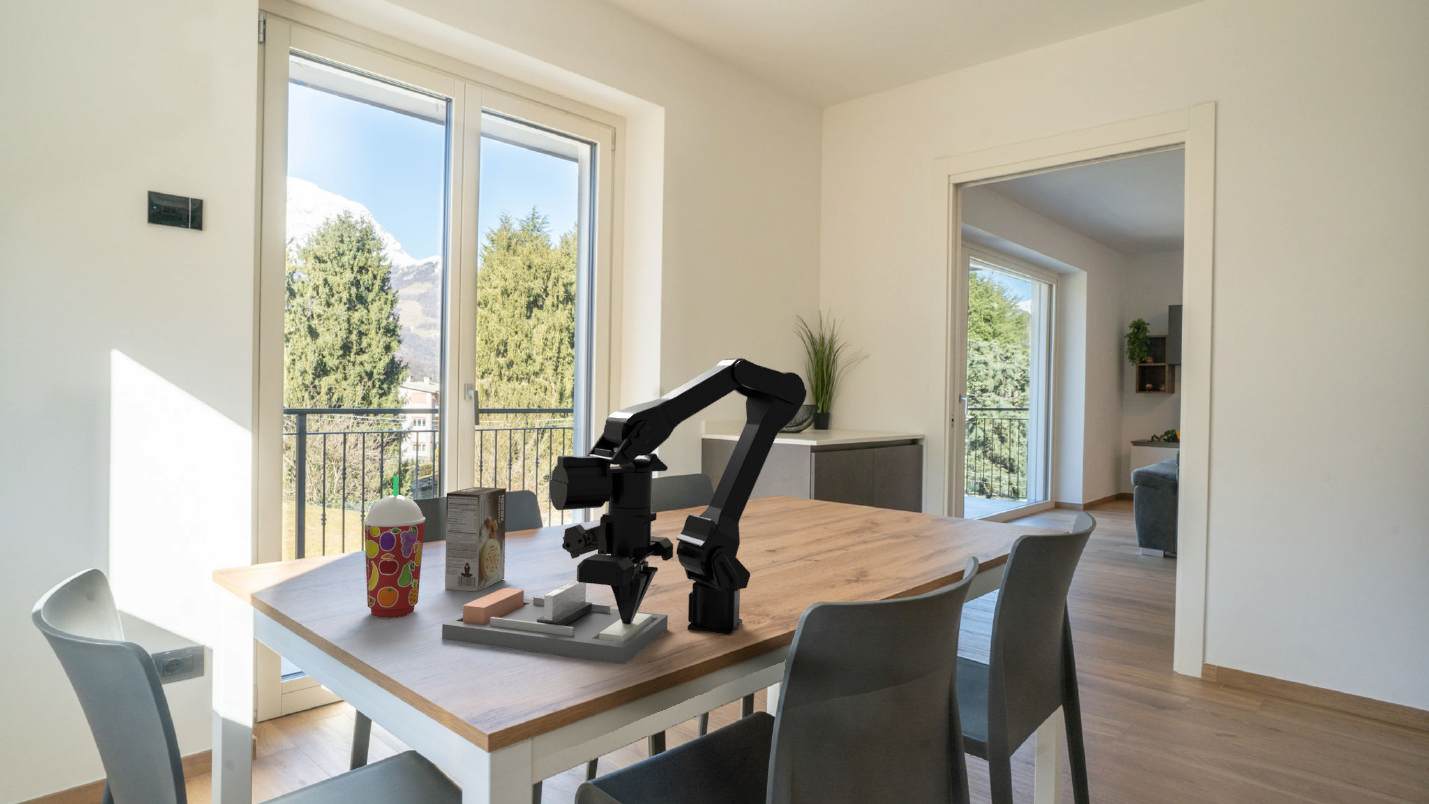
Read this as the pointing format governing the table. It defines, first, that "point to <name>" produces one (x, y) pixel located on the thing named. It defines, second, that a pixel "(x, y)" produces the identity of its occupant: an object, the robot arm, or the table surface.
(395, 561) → the smoothie
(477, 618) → the button terracotta
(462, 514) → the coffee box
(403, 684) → the table surface
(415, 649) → the table surface
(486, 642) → the panel
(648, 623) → the button white
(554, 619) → the slider paddle
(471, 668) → the table surface
